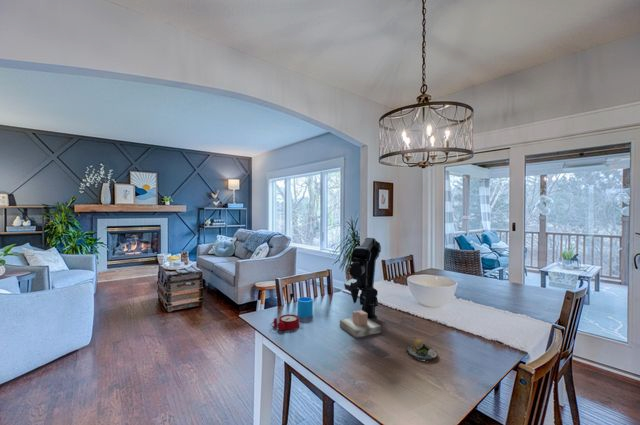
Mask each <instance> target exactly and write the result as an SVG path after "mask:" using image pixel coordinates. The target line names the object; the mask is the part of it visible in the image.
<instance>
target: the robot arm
mask: <svg viewBox="0 0 640 425" xmlns="http://www.w3.org/2000/svg"><path fill="white" fill-rule="evenodd" d="M381 251H382V246H381V243H380V242H379V241H377V240H376V238H374V237H365V239H364V241H363V242H362V244H361V245H357V246H355V248H354V249H353V251H352V255H351V260H350V262H351V263H353V265H351V266H350V268H349V274H350V276H351V279H348V280H346V281H344V283H343V286H344V289H345V290H347V291H348V292H350V295H351V298H352V301H353V302H352V303H353V304H356V303H357V301H358V297H359V305H360V306H362V307H361V310H362V311H364V312H366V313H368V319H373V318H377V317H378V316H377V315H376V308H377V307H378V306H379V300H378V290H377V289H376V288H375V287H374V284H375V274H376V263H377V262H376V261H377V259H379V256H380V254H381ZM359 293H360V294H359Z"/></svg>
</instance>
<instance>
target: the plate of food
mask: <svg viewBox="0 0 640 425" xmlns="http://www.w3.org/2000/svg"><path fill="white" fill-rule="evenodd" d="M414 338H415V340H414V341H413V343H412V344H409V345H408V346H406V350H405V353H406V354H407V353H408V355H409V356H410V357H409V356H408V355H407V356H408V357H409V358H411V357H412V358H415V359H419V360H425V361H431V360H433V359H436V358H437V356H439V355H438V351H437V350H436V349H434V348H433V347H431V346H429V345H427V344H425V343H424V340H423V339H422V338H421V339H420V338H417V337H416V336H415V337H414ZM416 338H417V339H416ZM412 358H411V359H412ZM419 360H418V361H419Z"/></svg>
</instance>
